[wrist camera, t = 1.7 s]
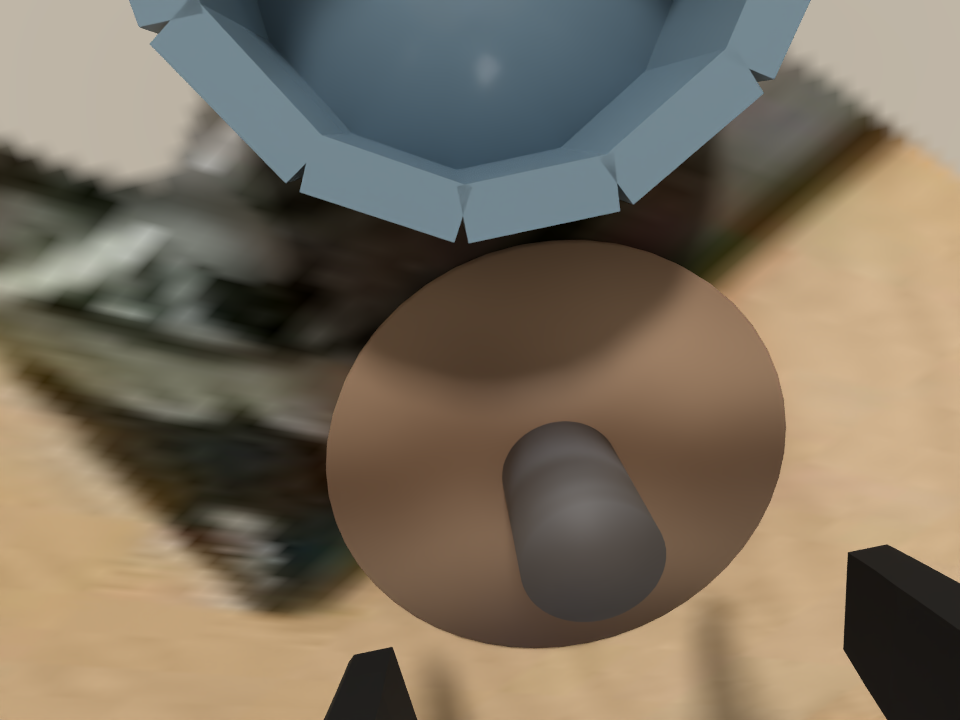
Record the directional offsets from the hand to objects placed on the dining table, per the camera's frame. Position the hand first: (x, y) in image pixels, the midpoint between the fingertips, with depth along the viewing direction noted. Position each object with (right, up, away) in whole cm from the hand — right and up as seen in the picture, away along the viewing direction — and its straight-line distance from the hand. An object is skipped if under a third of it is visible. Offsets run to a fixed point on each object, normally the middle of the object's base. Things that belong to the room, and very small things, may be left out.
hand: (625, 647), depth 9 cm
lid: (0, +2, +6) cm, 6 cm away
